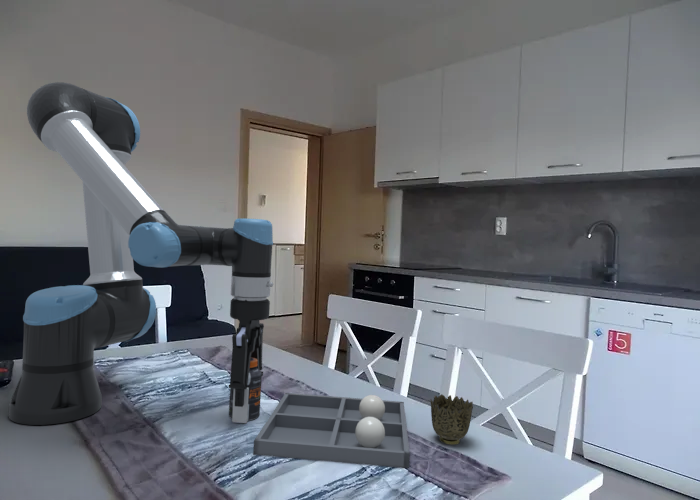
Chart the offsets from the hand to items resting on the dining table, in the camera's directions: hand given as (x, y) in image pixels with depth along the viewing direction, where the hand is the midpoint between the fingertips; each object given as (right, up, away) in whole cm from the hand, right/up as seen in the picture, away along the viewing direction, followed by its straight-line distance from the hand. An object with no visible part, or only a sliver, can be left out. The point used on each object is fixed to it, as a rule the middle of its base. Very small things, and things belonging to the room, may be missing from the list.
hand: (245, 414), depth 95 cm
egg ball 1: (+25, -1, -2) cm, 25 cm away
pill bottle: (0, 0, 0) cm, 1 cm away
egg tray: (+18, -1, -7) cm, 20 cm away
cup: (+38, -3, -9) cm, 39 cm away
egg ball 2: (+24, -1, -14) cm, 27 cm away
